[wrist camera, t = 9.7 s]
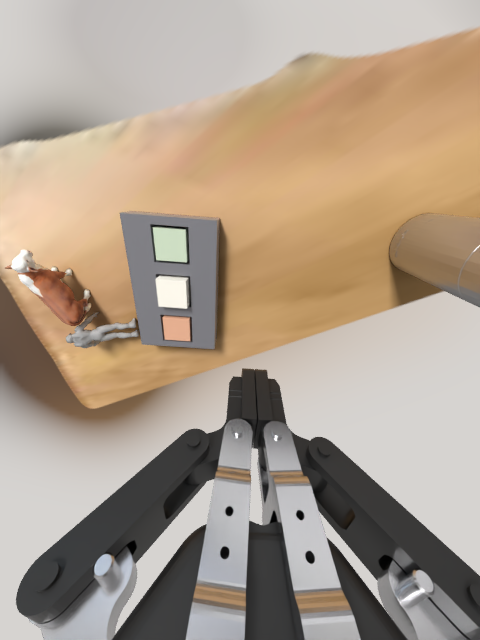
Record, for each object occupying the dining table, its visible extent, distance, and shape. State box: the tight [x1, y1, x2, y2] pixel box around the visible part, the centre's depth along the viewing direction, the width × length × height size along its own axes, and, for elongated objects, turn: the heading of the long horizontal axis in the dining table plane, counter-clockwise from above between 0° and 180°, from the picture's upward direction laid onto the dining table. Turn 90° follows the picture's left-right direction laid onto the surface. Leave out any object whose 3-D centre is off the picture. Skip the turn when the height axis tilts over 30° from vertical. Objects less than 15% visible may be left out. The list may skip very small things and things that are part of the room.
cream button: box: [155, 274, 191, 309], centre depth 38 cm, size 5×5×3 cm
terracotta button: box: [162, 315, 192, 341], centre depth 43 cm, size 5×5×3 cm
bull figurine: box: [5, 250, 91, 326], centre depth 38 cm, size 4×13×8 cm, turn 18°
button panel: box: [120, 211, 220, 349], centre depth 40 cm, size 14×23×4 cm, turn 176°
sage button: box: [153, 225, 190, 262], centre depth 36 cm, size 5×5×3 cm
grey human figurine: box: [66, 312, 139, 348], centre depth 44 cm, size 6×5×12 cm
